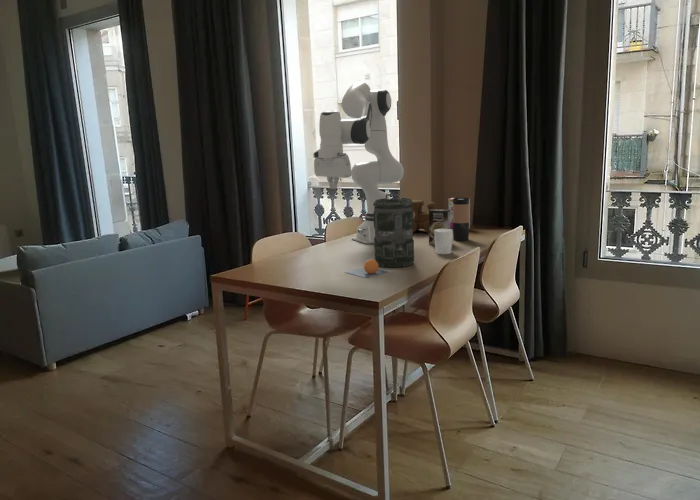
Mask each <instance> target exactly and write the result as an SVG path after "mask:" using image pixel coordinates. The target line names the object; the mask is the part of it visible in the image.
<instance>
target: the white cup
mask: <svg viewBox="0 0 700 500" xmlns="http://www.w3.org/2000/svg"><path fill="white" fill-rule="evenodd" d="M434 239H435V245H434V247H435V248H434V249H435V250H434V251H435V254H437V255H449V254H451V253H452V247H453V229H436V230H434Z"/></svg>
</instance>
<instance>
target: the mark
mask: <svg viewBox="0 0 700 500" xmlns="http://www.w3.org/2000/svg"><path fill="white" fill-rule="evenodd" d="M389 272H390V271H388V270H385V269H380V268H379V269H378V271H377V272H376V273H374V274H368V273H367V272H366V271H365V269H364V267H362V268H357V269H356V268H355V269H352V270H348V271H345V272H344V273H345V274H349V275H353V276H355V277H360V278H362V279H366V278H371V277H374V276H375V277H376V276H378V275H383V274H387V273H389Z"/></svg>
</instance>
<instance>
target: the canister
mask: <svg viewBox="0 0 700 500" xmlns="http://www.w3.org/2000/svg"><path fill="white" fill-rule="evenodd" d="M387 196H389V197H390V196H391V197H398V198H390V199H387ZM412 200H413V199H411V198H404V197H401V195H400V194H397V193H396V194H393V193H386V198H385V199H378V200H376V201H375V202H374V203H373V205H374V206H375V207H374V212H373V214H374V228H375V237H374V243H373V245H374V246H373V248H374V250H373V251H374V260H375V261H376V262H377V263H378V265H379V267H382V268H387V267H389V268H390V267H391V268H394V267H395V268H398V267H399V268H400V267H402V268H404V267H405V268H406V267H409V266H411V265H413V263H414V262H415V240H414V237H413V236H414V234H413V217H414V211H412V205H413V202H412Z"/></svg>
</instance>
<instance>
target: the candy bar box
mask: <svg viewBox="0 0 700 500" xmlns="http://www.w3.org/2000/svg"><path fill="white" fill-rule="evenodd" d="M454 198H455V197H451V198H447V210H450V229H452V230H453V199H454ZM470 228H471V199H470V198H469V230H470Z"/></svg>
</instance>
